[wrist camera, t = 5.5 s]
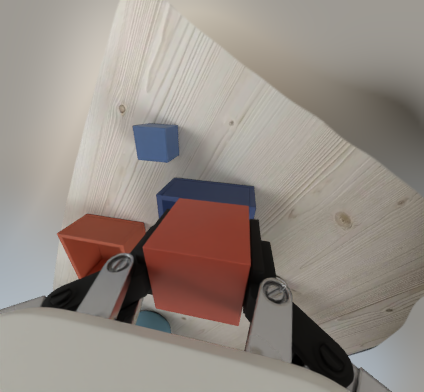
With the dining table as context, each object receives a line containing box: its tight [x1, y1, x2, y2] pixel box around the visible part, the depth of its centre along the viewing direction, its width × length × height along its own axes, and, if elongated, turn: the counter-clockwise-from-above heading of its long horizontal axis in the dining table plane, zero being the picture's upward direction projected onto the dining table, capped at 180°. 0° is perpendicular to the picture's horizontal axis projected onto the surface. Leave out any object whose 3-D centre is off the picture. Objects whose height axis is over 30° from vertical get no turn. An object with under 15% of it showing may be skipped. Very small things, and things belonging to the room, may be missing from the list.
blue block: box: [133, 123, 179, 163], centre depth 25 cm, size 4×4×4 cm
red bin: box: [57, 214, 146, 279], centre depth 36 cm, size 14×14×7 cm
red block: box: [143, 198, 251, 326], centre depth 10 cm, size 4×4×4 cm
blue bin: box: [156, 178, 256, 220], centre depth 28 cm, size 14×14×7 cm
